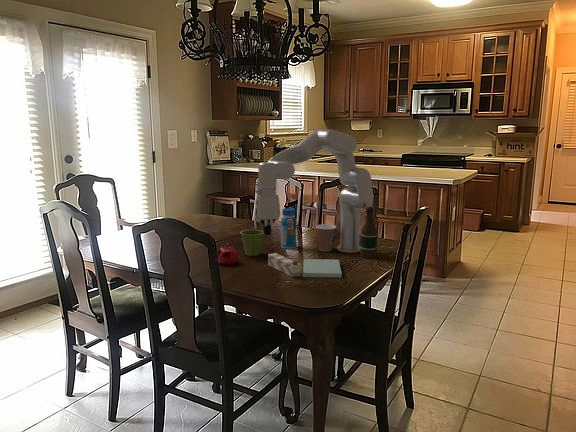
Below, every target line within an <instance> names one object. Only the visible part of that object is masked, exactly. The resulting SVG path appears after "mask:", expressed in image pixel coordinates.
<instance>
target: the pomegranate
mask: <svg viewBox="0 0 576 432" xmlns="http://www.w3.org/2000/svg"><path fill="white" fill-rule="evenodd" d="M233 247H236V245H235V246H234V245H232V246H230V244H229V243H226V245H223V246H221V247H219V249H218V250H217V252H216V254H217V253H218V259H219V262H218V263H219V264H221V265H222V264H223V265H227V266H229V265H234V264H235V263H237V262H238V260H239V253H238V251H237V250H236V249H235V248H233ZM218 259H217V260H218Z"/></svg>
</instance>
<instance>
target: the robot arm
mask: <svg viewBox="0 0 576 432" xmlns="http://www.w3.org/2000/svg"><path fill="white" fill-rule="evenodd" d="M357 145H358V144H357V141H356V138H355V137H354V136H352V135H350V134H347V133H345V132H341V131H338V130H336V129H321V128H319V129H315V130H313V131H312V132H311V133H310V134H308V135H307V136H306V137H305V138H304V139H302V140H301V141H299V142H298V143H296V144H295V145H293V146H291V147H288V148H286V149H284V150H282V151H280V152H278V153H277V154H275V155H273V156H272V157H271V158H269V160H267V161H264V162H260V163H258V168H257V169H258V173H257V175H258V176H257V177H258V178H257V179H258V187H257V189H255V194H257V196H256V198H255V206H254V208H255V209H254V217H255V222H257V223H260V224H261V225H262V227H263V229H262V231H263V232H264V235H265V236H271V234H272V226H273V224H274V223H275V222H277V221H279V220H280V217H281V206H280V205H281V204H280V197H279V195H278V194H277V180H289V179H291V178H292V177H293V176H294V174H295V171H296V170H295V169H296V168H295V166H294V165H295V164H300V163H304V162H307V161H309V160H311V159H312V158H313V157H314V156H315V155H316V154H318V153H319V152H320V151H321V150H323V149H325V150H326V151H328V153H331V154H332V155H333V156H334V158H335V160H336V162H337V163H336V164H337V169H338V175H339V176H338V177H339V181H340V184H342V185H343V186H346V187H344V188H343V189H341V191H340V192H339V195H338V197H339V205H340V232H339V233H340V234H339V235H340V236H339V237H340V239H339V240H340V241H339V242H340V243H339V245H337V247H336V250H337V251H339V252H342V253H350V254H351V253H352V254H355V253H360V232H361V231H360V230H361V229H360V226H361V222H360V221H361V214H360V211H359V210H366V208H367V207H372V205H373V203H374V191H373V184H372V176H371V174H370V172H369V171H368V169H366V168H364V167H357V165H356V161H355V160H356V159H355V155H354V152H355V151H356V149H357Z"/></svg>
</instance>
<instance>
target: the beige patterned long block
mask: <svg viewBox="0 0 576 432" xmlns="http://www.w3.org/2000/svg"><path fill="white" fill-rule="evenodd" d="M267 263H268V264H267V266H269V267H271V268H273V269H275V270H277V271H279V272H281V273H283V274H285V275H287V276H289V277H291V278H296V277H301V270H302V269H301V263H299V262H298V261H296V260H295V261H294V260H292V259H290V258H288V257H285V256H283V255H281V254H279V253H276V252H275V253H269V254H268V256H267Z"/></svg>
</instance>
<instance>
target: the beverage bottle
mask: <svg viewBox="0 0 576 432" xmlns="http://www.w3.org/2000/svg"><path fill="white" fill-rule="evenodd" d="M281 210H282V212H281V214H282V218H281V220H280V247H281V248H283V249H289V250H290V249H295V248H296V247H297V245H298V244H297V233H298V232H297V230H298V226H297V223H298V221H297V219H296V208H293V207H284V208H282V209H281Z"/></svg>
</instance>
